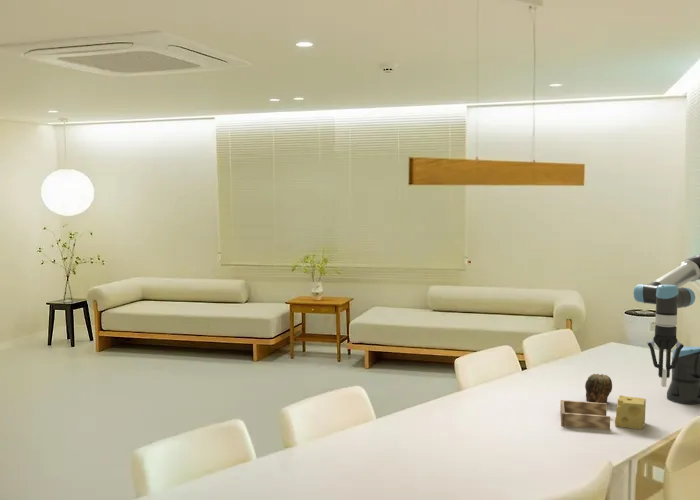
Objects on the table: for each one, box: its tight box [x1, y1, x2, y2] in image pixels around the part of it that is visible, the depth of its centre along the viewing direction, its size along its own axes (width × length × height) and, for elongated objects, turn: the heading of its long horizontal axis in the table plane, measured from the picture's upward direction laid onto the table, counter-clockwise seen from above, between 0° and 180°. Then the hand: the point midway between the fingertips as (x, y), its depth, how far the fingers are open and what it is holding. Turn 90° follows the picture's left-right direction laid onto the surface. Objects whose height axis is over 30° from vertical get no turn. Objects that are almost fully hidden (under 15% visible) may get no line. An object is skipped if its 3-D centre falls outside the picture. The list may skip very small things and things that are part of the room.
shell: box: [584, 373, 613, 404], centre depth 304 cm, size 11×11×12 cm
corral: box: [559, 399, 611, 431], centre depth 279 cm, size 18×18×5 cm
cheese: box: [614, 395, 647, 431], centre depth 274 cm, size 10×11×10 cm
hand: (663, 385), depth 270 cm, fingers closed
